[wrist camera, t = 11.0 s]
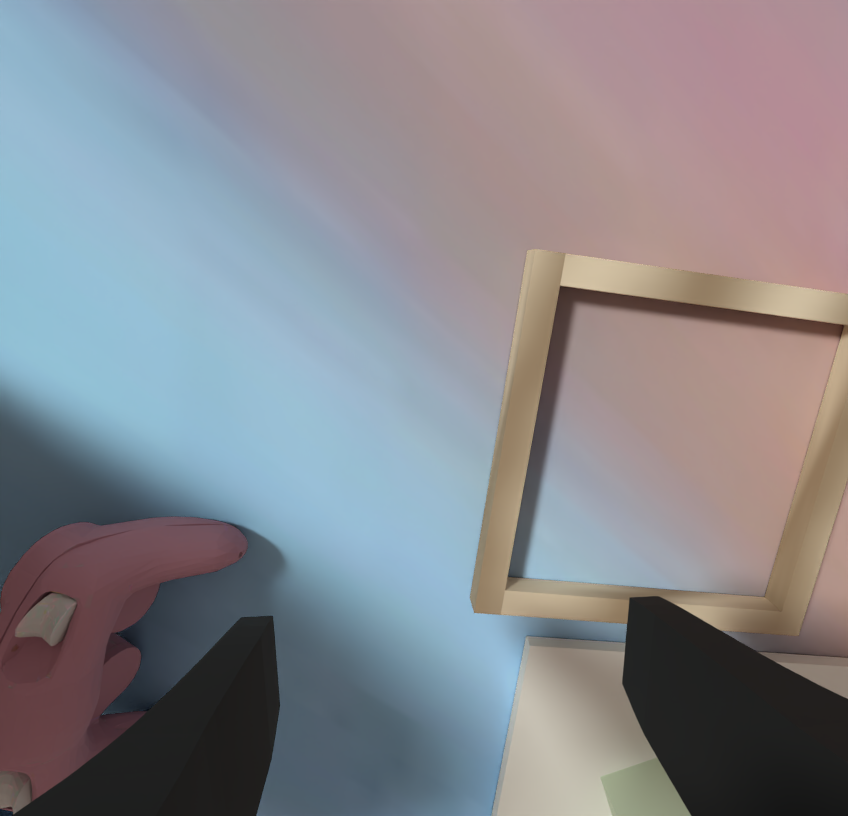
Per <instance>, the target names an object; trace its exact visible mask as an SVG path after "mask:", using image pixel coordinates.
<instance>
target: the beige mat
mask: <svg viewBox="0 0 848 816" xmlns="http://www.w3.org/2000/svg"><path fill="white" fill-rule="evenodd" d="M625 644H626V643H621V642H606V641H591V640H577V639H562V638H547V637H532V636H526V639H525V645H524V650H523V655H522V660H521V665H520V670H519V676H518V681H517V686H516V691H515V696H514V701H513V707H512V712H511V717H510V722H509V727H508V733H507V738H506V743H505V748H504V753H503V758H502V764H501V769H500V774H499V779H498V784H497V789H496V795H495V800H494V805H493V810H492V815H491V816H612V814H611V810H610V807H609V804H608V801H607V797H606V794H605V791H604V788H603V784H602V781H601V778H600V777H601V776H604V775H607V774H610V773H613V772H616V771H619V770H622V769H625V768H628V767H631V766H634V765H637V764H639V763H642V762H645V761H648V760H651V759H654V758H657V756H656V755H655V753H654V751H653V749H652V748H651V746H650V744H649V742H648V741H647V739H646V737H645V735H644V733H643V731H642V729H641V727H640V725H639V722H638V720H637V718H636V716H635V713H634V711H633V709H632V706H631V704H630V702H629V699H628V697H627V694H626V692H625V689H624V687H623V685H622V678H623V667H624V655H625ZM758 653H760V654H762V655H764V656H766V657H767V658H769V659H771V660H773V661H775V662H776V663H778V664H780V665H782V666H784V667H786V668H788V669H789V670H791V671H793V672H795V673H797V674H799V675H801V676H803V677H805V678H807V679H809V680H811V681H812V682H814V683H816V684H818V685H820V686H822V687H824V688H826V689H828V690H830V691H832V692H834V693H837V694H839V695H841V696H843V697H845V698H847V699H848V658H842V657H827V656H812V655H797V654H783V653H768V652H758Z"/></svg>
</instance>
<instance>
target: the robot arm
mask: <svg viewBox="0 0 848 816" xmlns="http://www.w3.org/2000/svg"><path fill="white" fill-rule="evenodd" d="M622 685H623V687H624V689H625V692H626V694H627V697H628V699H629V702H630V704H631V706H632V709H633V711H634V713H635V716H636V718H637V720H638V722H639V725H640V727H641V729H642V731H643V733H644V735H645V737H646V739H647V741H648V742H649V744H650V746H651V748H652V749H653V751H654V753H655V755H656V756H657V758H658V760H659V762H660V763H661V765H662V767H663V768H664V770H665V772H666V774H667V775H668V777H669V779H670V780H671V782H672V784H673V786H674V787H675V789H676V791H677V792H678V794H679V796H680V798H681V799H682V801H683V803H684V804H685V806H686V808H687V809H688V811H689V813H690V815H691V816H848V699H847V698H845V697H843V696H841V695H839V694H837V693H834V692H832V691H830V690H828V689H826V688H824V687H822V686H820V685H818V684H816V683H814V682H812V681H811V680H809V679H807V678H805V677H803V676H801V675H799V674H797V673H795V672H793V671H791V670H789V669H788V668H786V667H784V666H782V665H780V664H778V663H776V662H775V661H773V660H771V659H769V658H767V657H766V656H764V655H762V654H760V653H758V652H757V651H755V650H753V649H751V648H750V647H748V646H746V645H744V644H743V643H741V642H739V641H737V640H736V639H734V638H732V637H731V636H729V635H727V634H725V633H724V632H722V631H720V630H719V629H717V628H715V627H713V626H712V625H710V624H708V623H707V622H705V621H703V620H702V619H700V618H698V617H696V616H695V615H693V614H691V613H690V612H688V611H686V610H684V609H683V608H681V607H679V606H677V605H675V604H674V603H672V602H670V601H668V600H666V599H664V598H662V597H660V596H647V597H630V598H629V610H628V621H627V633H626V644H625V655H624V667H623V678H622ZM279 708H280V700H279V687H278V674H277V661H276V649H275V636H274V623H273V616H260V617H241V618H240V619H239V620H238V621H237V622H236V623H235V624H234V625H233V626H232V627H231V628H230V629H229V630H228V631H227V633H226V634H225V635H224V636H223V637H222V638H221V639H220V640H219V641H218V642H217V643H216V644H215V645H214V646H213V647H212V648H211V649H210V650H209V652H208V653H207V654H206V655H205V656H204V657H203V658H202V659H201V660H200V661H199V662H198V663H197V664H196V665H195V666H194V667H193V668H192V669H191V670H190V671H189V672H188V673H187V674H186V675H185V676H184V677H183V678H182V679H181V680H180V681H179V682H178V683H177V684H176V685H175V686H174V687H173V688H172V689H171V690H170V691H169V692H168V693H167V694H166V695H165V696H164V697H163V698H161V699H160V700H159V701H158V702H157V703H156V704H155V705H154V706H153V707H152V708H151V709H150V710H148V711H147V712H146V713H145V714H144V715H143V716H142V717H141V718H140V719H139V720H138V721H136V722H135V723H134V724H133V725H132V726H131V727H130V728H128V729H127V730H126V731H125V732H124V733H123V734H121V735H120V736H119V737H118V738H117V739H115V740H114V741H113V742H112V743H111V744H109V745H108V746H107V747H106V748H104V749H103V750H102V751H100V752H99V753H98V754H97V755H95V756H94V757H93V758H91V759H90V760H89V761H88V762H86V763H85V764H84V765H83V766H81V767H80V768H79V769H77V770H76V771H75V772H73V773H72V774H71V775H69V776H68V777H67V778H65V779H64V780H62V781H61V782H59V783H58V784H57V785H55V786H54V787H52V788H51V789H49V790H48V791H46V792H45V793H44V794H42V795H41V796H39V797H38V798H36V799H35V800H33V801H32V802H31V803H29V804H28V805H26V806H25V807H23V808H22V809H20V810H19V811H18V812H16V813H15V814H13V815H12V816H256V814H257V810H258V807H259V803H260V800H261V796H262V792H263V789H264V785H265V781H266V777H267V774H268V770H269V766H270V762H271V758H272V752H273V746H274V740H275V734H276V728H277V721H278V715H279Z"/></svg>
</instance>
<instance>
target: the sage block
mask: <svg viewBox="0 0 848 816" xmlns="http://www.w3.org/2000/svg"><path fill="white" fill-rule="evenodd" d="M600 778H601V781H602V784H603V788H604V791H605V794H606V797H607V801H608V804H609V807H610V810H611V814H612V816H691V815H690V813H689V811H688V809H687V808H686V806H685V804H684V803H683V801H682V799H681V798H680V796H679V794H678V792H677V791H676V789H675V787H674V786H673V784H672V782H671V780H670V779H669V777H668V775H667V774H666V772H665V770H664V768H663V767H662V765H661V763H660V762H659V760H658V758H654V759H651V760H648V761H645V762H642V763H639V764H637V765H634V766H631V767H628V768H625V769H622V770H619V771H616V772H613V773H610V774H607V775H604V776H601V777H600Z"/></svg>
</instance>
